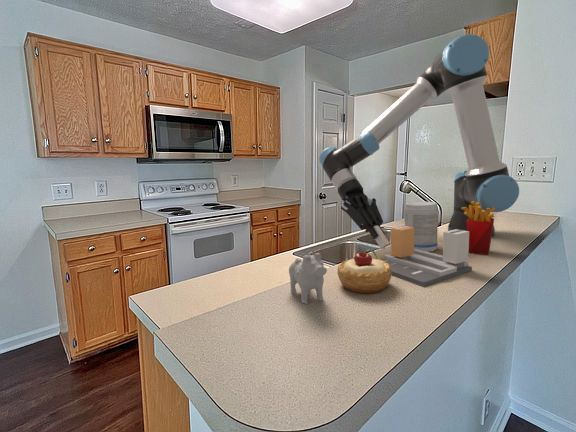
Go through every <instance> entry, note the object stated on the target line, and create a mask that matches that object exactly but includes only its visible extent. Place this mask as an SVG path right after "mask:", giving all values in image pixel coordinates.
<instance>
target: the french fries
mask: <svg viewBox="0 0 576 432" xmlns="http://www.w3.org/2000/svg"><path fill="white" fill-rule="evenodd" d="M471 204H472V205H473V206H472V205H469V209H468V208H467V207H462V210H464V211H465V212H464V214H465V215H467V216H468V217H469V219H468V220H467V231H469V251H468V254H474V255H482V256H483V255H485V256H489V253H490V249H491V242H492V237H493V236H492V230H493V225H494V223H495V218H494V217H495V214H494V212H492V211H493V210H495V208H492V209H490V208H487V212H486V211H485V210H482V208H481V205H480V203H475V202H474V201H472V202H471ZM474 210H475V215H474ZM479 214H480V218H479Z"/></svg>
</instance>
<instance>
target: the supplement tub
mask: <svg viewBox="0 0 576 432" xmlns="http://www.w3.org/2000/svg"><path fill="white" fill-rule="evenodd" d="M438 215H439V213H438V203H437V202H434V201H409V202H408V201H407V202H406V203H405V205H404V226H409V227H412V228H414V249H418V250H422V251H426V252H430V253H432V252H433V251H436V250H437V249H438V229H439V228H438V226H439V225H438V222H439V221H438V217H439V216H438Z"/></svg>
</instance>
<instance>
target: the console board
mask: <svg viewBox="0 0 576 432" xmlns="http://www.w3.org/2000/svg"><path fill="white" fill-rule="evenodd" d="M442 237H443V238H442V239H443V240H442V255H441V254H437V253H434V252H426V251H422V250H418V249H414V255H410V260H405V259H402V258H398V257H395V256H393V255H391V253H388V254H384V255H383V258H382V259H381V258H380V260H382V261H385V262H386V263H388V264H389V265H390V266H391V268H392V272H391V276H394V277H396V278H399V279H402V280H404V281H407V282H409V283H413V284H415V285H418V286H421V287H426V286H429V285H432V284H435V283H438V282H441V281H445V280H448V279H451V278H454V277H457V276H459V275H463V274H466V273H469V272H471V271H473V266H470V265H469V252H468V251H469V231H463V230H457V229H455V230H451V231H448V230H447V231H444V232H443V235H442Z"/></svg>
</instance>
